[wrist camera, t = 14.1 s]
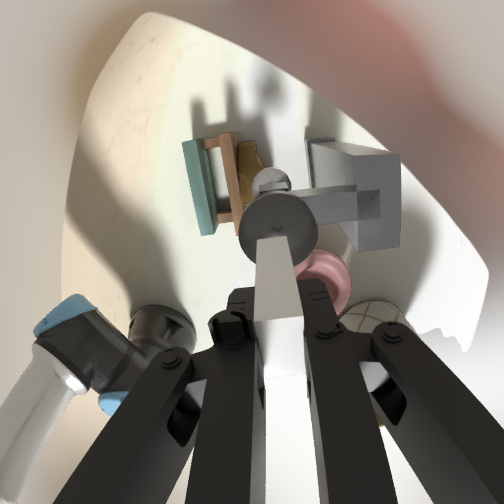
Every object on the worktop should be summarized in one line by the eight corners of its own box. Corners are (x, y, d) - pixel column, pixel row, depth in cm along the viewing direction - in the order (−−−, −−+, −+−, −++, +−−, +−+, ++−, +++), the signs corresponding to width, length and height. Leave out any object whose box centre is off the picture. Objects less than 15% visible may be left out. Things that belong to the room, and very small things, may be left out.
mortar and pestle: (353, 253, 48) (374, 286, 37) (321, 304, 52) (332, 344, 42) (294, 226, 46) (303, 256, 36) (265, 283, 51) (266, 323, 40)
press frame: (267, 199, 44) (270, 268, 23) (258, 144, 41) (254, 158, 19) (336, 191, 43) (398, 251, 22) (331, 137, 40) (399, 147, 18)
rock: (224, 129, 37) (206, 195, 39) (269, 129, 32) (249, 207, 33) (269, 151, 45) (255, 207, 47) (312, 156, 40) (296, 218, 42)
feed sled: (208, 222, 46) (198, 241, 39) (192, 140, 40) (177, 143, 33) (249, 217, 45) (247, 234, 38) (235, 132, 40) (229, 132, 33)
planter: (345, 285, 51) (377, 361, 32) (418, 300, 52) (461, 363, 34) (311, 355, 58) (323, 429, 40) (380, 362, 60) (403, 426, 41)
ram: (253, 208, 33) (245, 274, 19) (247, 167, 31) (232, 201, 17) (294, 203, 33) (319, 265, 18) (290, 162, 31) (314, 191, 16)
